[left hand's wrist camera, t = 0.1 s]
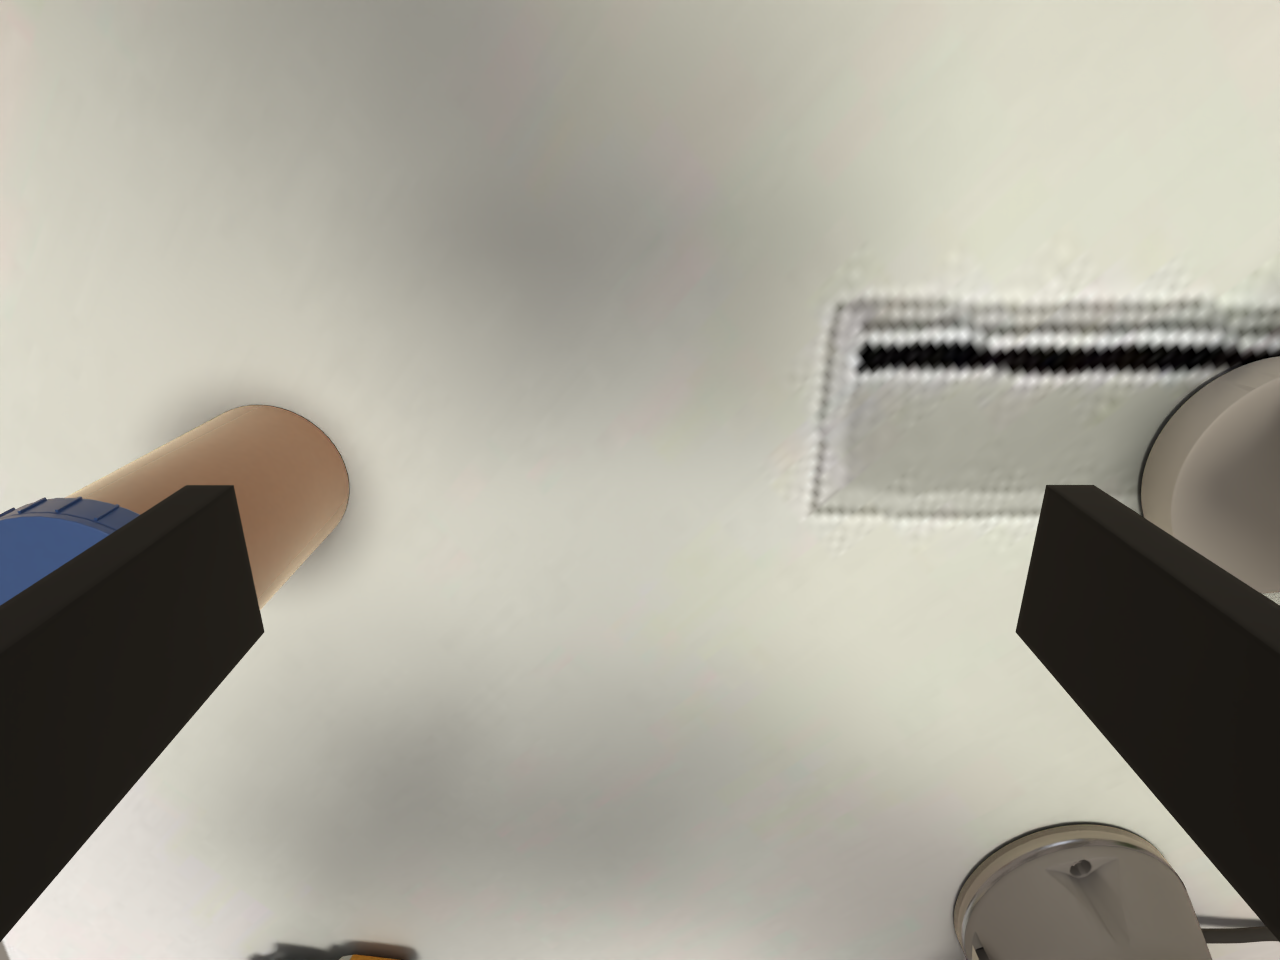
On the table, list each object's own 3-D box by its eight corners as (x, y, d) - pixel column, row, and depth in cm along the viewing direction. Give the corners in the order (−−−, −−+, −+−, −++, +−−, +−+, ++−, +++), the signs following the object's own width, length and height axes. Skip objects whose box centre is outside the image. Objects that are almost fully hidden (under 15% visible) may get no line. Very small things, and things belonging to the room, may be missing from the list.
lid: (259, 557, 28) (236, 580, 26) (198, 746, 31) (173, 777, 29) (-8, 453, 26) (-51, 470, 25) (-44, 662, 30) (-84, 689, 28)
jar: (369, 444, 41) (224, 580, 27) (324, 570, 44) (170, 754, 30) (214, 378, 40) (-27, 484, 25) (177, 512, 43) (-58, 676, 28)
